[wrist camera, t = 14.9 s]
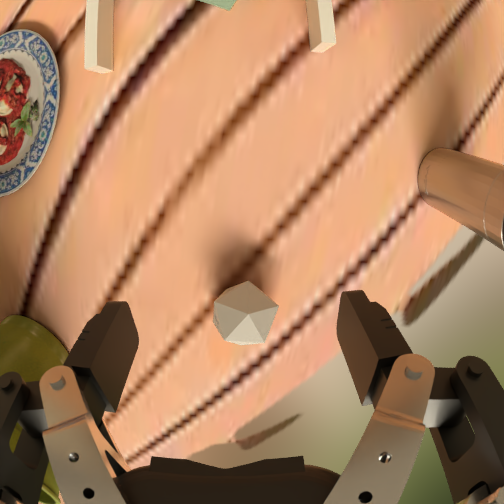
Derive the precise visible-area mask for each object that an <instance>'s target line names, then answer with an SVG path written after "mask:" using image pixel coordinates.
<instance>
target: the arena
mask: <svg viewBox="0 0 504 504" xmlns="http://www.w3.org/2000/svg"><path fill="white" fill-rule="evenodd" d="M306 9H307V18H308V29H309V40H310V52H325V51H326V50H327V49H329V48H330V47H332V46H333V45H335V44H336V36H335V27H334V18H333V9H332V1H331V0H306ZM113 15H114V0H87V5H86V20H85V69H86V70H90V71H94V72H97V73H101V74H104V73H107V72H111V71H113Z"/></svg>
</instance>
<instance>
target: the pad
mask: <svg viewBox="0 0 504 504" xmlns="http://www.w3.org/2000/svg"><path fill="white" fill-rule="evenodd" d="M199 1H202V2H205V3H208V4H211V5H214V6H217V7H220V8H222V9H225V10H228V11H230V10H231V8H232V7H233V5H234V4H235V2H236V1H237V0H199Z"/></svg>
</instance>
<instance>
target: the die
mask: <svg viewBox="0 0 504 504" xmlns="http://www.w3.org/2000/svg"><path fill="white" fill-rule="evenodd" d="M278 307H279V306H278V305H277V304H276V303H275V302H274V301H273V300H271V299H270V298H269V297H268V296H267V295H266V294H265V293H264V292H262V291H261V290H260V289H259V288H257V287H256V286H255V285H253V284H252V283H251V282H249V281H246V282H243V283H241V284H238V285H236V286H233V287H230V288H228V289H226V290H225V291H224V292H223V293H222V294H221V295H220V296H219V297H218V298H217V299H216V300H215V301H214V316H213V323H214V324H215V326H216V328H217V329H218V331H219V333H220V334H221V336H222V338H223V339H224V340H225V341H228V342H232V343H235V344H239V345H248V344H257V343H265V340H266V338H267V335H268V333H269V331H270V328H271V326H272V323H273V320H274V317H275V315H276V312H277V309H278Z"/></svg>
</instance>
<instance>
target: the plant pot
mask: <svg viewBox="0 0 504 504" xmlns="http://www.w3.org/2000/svg"><path fill="white" fill-rule="evenodd" d="M68 355H69V354H68V352H67V351H66V349H65V348H64V346H63V345H62V344H61V343H60V341H59V340H58V339H57V338H56V337H55V336H54V335H53V334H52V333H51V332H49V331H48V330H47V329H46V328H45V327H43V326H42V325H40V324H39V323H37V322H35V321H34V320H32V319H29V318H27V317H24V316H20V315H11V316H8V317H6V318H5V319H4V320H3V321H2V322H1V323H0V376H2V375H3V374H5V373H7V372H12V371H13V372H17V373H19V374H20V376H21V377H22V378H23V380H24V381H25V382H32V381H40V380H41V377H42V376H43V374H44V373H45V372H46V371H48V370H49V369H51V368H53V367H56V366H63V364H64V362H65V360H66V358H67V357H68ZM22 429H23V428H22V427H21V426H20V425H19V423H18V422H17V423H16V426H15V428H14V431H13V433H12V436H11V438H10V443H9V444H10V449H11V451H12V453H14V450H15V447H16V444H17V442H18V439H19V436H20V434H21V431H22ZM58 496H59V488H58V485H57V482H56V479H55V476H54V473H53V470H52V467H51V464H50V461H49V463H48V466H47V470H46V474H45V477H44V481H43V485H42V489H41V493H40V498H39V502H41V503H43V504H60V503H61V502H60V499H59V498H58Z"/></svg>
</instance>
